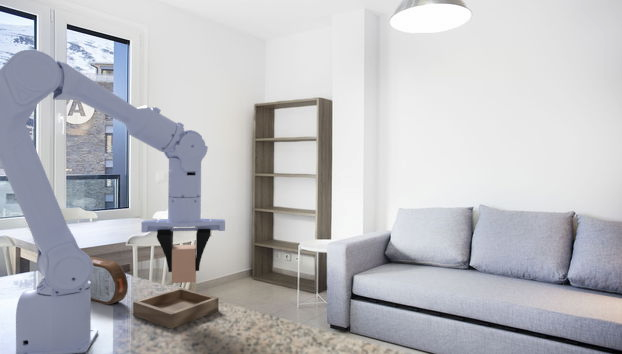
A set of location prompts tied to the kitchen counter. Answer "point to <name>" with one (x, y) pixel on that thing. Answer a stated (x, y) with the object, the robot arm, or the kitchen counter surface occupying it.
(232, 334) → the kitchen counter surface
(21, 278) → the kitchen counter surface
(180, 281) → the block
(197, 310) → the tray
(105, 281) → the tin
